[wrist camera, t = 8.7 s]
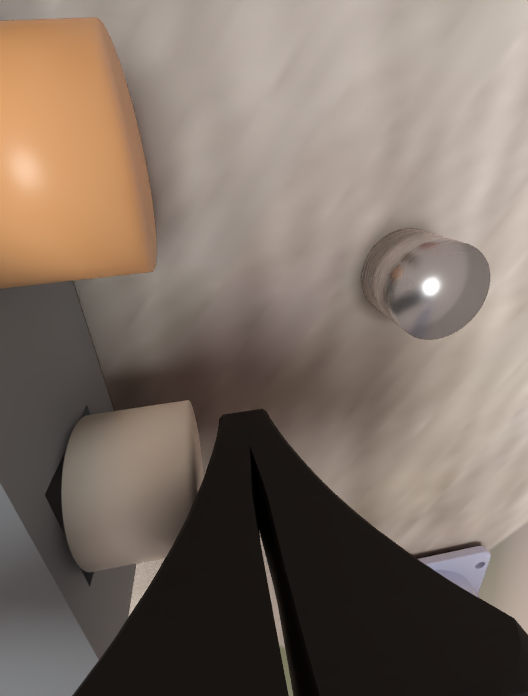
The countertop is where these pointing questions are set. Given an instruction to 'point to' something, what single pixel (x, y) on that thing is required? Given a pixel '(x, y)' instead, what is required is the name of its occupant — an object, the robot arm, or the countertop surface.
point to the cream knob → (127, 484)
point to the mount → (32, 506)
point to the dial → (426, 282)
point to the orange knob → (69, 158)
